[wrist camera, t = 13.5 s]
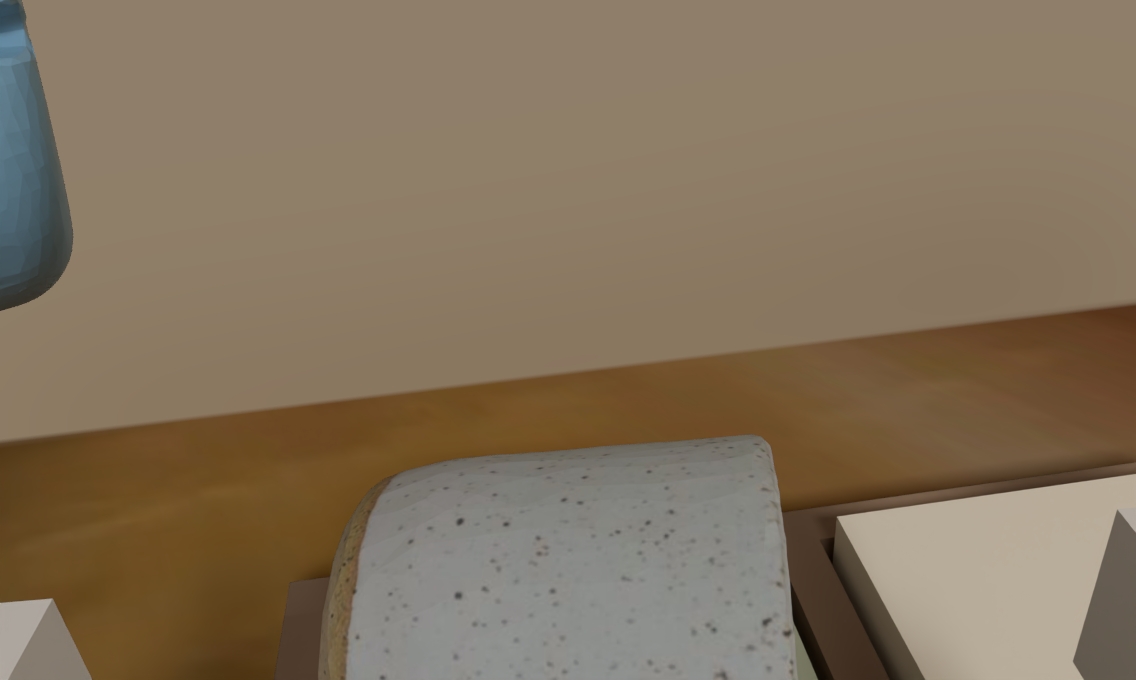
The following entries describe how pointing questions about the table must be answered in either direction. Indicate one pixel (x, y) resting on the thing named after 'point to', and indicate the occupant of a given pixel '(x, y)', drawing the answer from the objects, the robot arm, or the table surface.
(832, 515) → the key pad frame
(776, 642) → the ceramic mug
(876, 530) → the cream key
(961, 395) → the table surface
